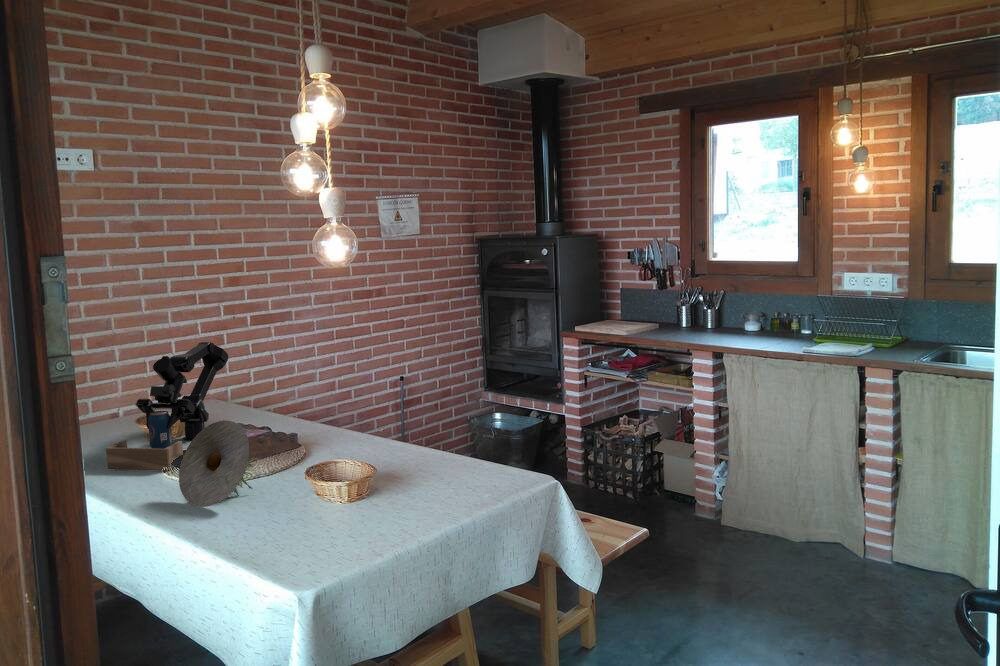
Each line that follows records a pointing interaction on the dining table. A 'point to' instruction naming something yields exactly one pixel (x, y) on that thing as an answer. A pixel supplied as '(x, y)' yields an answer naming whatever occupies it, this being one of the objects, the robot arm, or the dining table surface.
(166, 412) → the soda can
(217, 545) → the dining table surface
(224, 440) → the disc
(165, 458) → the wooden u-shaped frame
